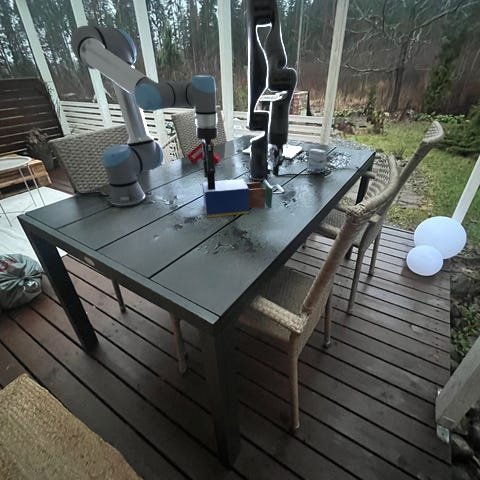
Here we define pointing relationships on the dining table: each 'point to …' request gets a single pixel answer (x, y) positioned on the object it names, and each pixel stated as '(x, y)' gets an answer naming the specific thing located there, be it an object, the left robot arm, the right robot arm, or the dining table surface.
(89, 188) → the dining table surface
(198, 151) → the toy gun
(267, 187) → the drawer
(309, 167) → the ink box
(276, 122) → the right robot arm
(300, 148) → the relief map
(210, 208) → the cabinet
